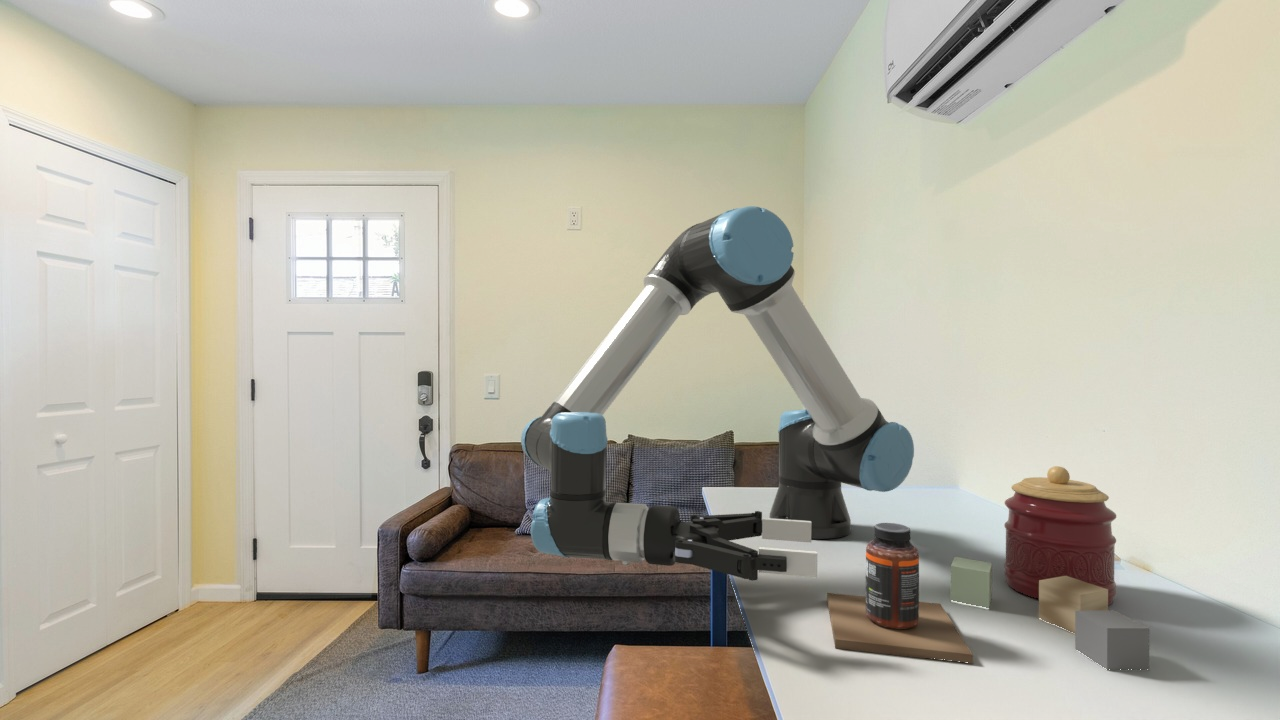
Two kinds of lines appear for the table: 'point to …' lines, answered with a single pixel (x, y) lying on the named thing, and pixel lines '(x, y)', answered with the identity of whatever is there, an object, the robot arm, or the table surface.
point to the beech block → (1069, 600)
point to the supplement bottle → (892, 577)
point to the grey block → (1112, 640)
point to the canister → (1058, 533)
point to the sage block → (971, 582)
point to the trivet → (896, 631)
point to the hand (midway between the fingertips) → (814, 546)
